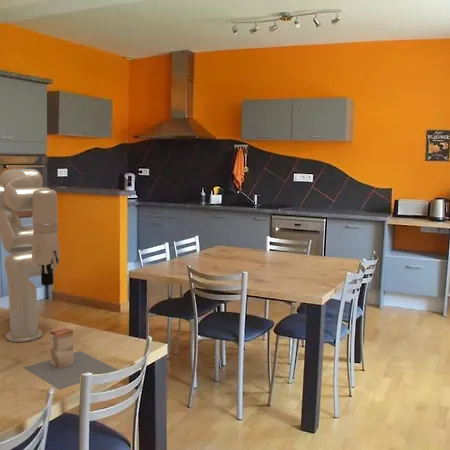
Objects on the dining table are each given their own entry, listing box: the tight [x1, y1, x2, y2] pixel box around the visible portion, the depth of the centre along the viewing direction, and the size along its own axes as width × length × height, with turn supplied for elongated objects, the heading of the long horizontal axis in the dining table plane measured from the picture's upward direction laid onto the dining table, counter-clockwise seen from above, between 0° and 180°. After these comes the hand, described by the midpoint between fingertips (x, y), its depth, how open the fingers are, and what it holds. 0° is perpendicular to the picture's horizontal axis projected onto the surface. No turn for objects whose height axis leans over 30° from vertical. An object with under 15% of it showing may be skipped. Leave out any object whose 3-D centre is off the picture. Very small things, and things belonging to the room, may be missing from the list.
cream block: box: [49, 326, 74, 369], centre depth 169 cm, size 5×5×11 cm
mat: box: [23, 350, 119, 391], centre depth 167 cm, size 22×20×1 cm
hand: (47, 284), depth 172 cm, fingers closed
